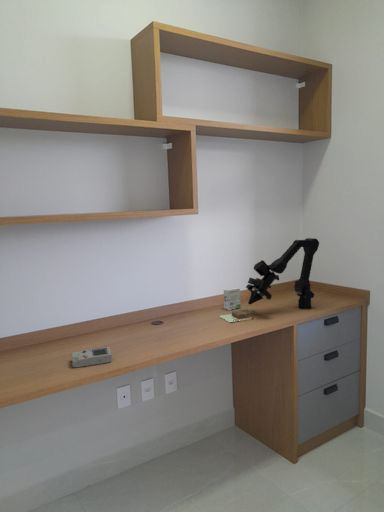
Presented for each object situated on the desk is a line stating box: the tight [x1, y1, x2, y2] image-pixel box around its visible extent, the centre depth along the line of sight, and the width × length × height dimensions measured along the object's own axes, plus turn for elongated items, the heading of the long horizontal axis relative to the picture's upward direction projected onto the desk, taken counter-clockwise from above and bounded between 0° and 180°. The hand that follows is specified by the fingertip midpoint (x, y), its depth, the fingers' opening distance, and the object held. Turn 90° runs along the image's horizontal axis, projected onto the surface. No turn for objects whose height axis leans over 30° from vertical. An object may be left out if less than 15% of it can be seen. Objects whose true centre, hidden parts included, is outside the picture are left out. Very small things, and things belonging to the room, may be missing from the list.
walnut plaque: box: [231, 308, 255, 319], centre depth 202 cm, size 2×8×9 cm
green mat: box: [218, 313, 244, 323], centre depth 201 cm, size 14×14×1 cm
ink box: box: [223, 287, 241, 311], centre depth 220 cm, size 8×5×12 cm, turn 121°
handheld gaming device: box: [71, 346, 113, 368], centre depth 150 cm, size 9×15×4 cm, turn 108°
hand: (248, 304), depth 203 cm, fingers closed
